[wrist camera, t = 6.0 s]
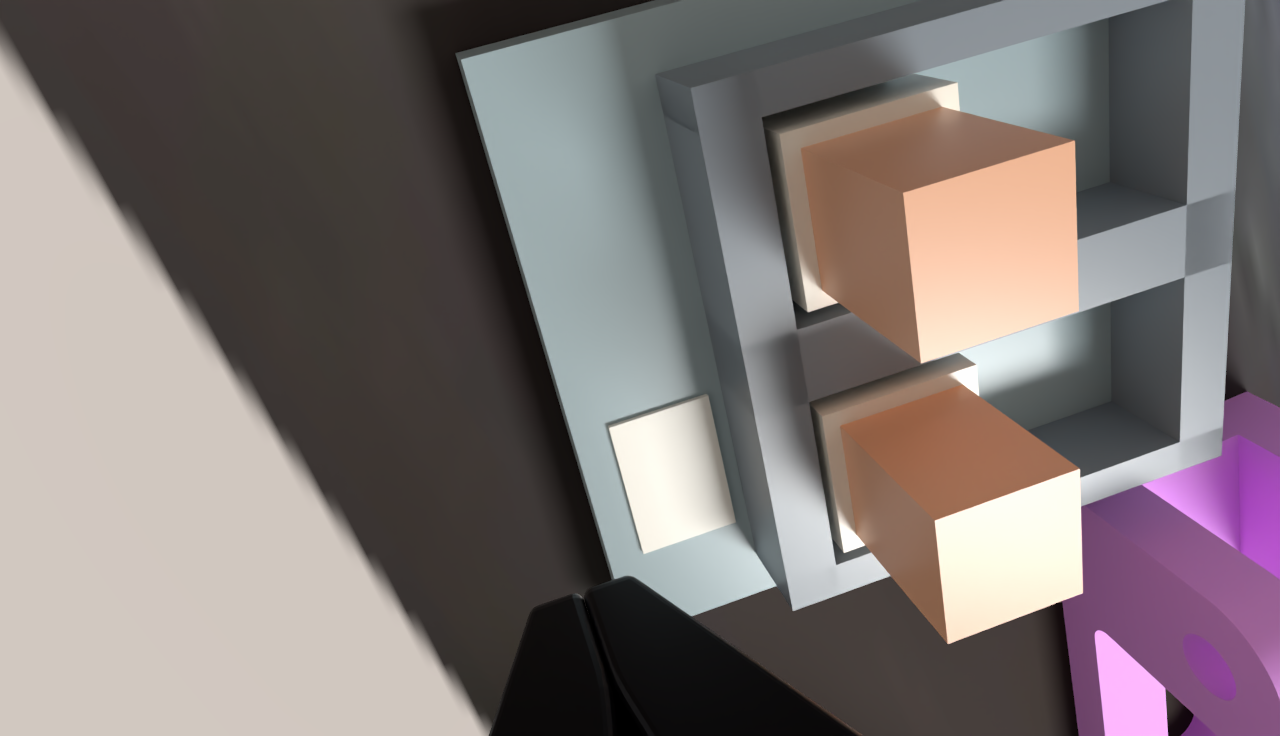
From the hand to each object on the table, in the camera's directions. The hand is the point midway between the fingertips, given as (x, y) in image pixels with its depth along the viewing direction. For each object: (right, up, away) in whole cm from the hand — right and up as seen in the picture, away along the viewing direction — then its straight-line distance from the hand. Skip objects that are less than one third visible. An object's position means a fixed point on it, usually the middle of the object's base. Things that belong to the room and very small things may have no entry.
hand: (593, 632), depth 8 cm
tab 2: (+5, +1, +11) cm, 12 cm away
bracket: (+14, -5, +19) cm, 24 cm away
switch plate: (+5, +4, +12) cm, 14 cm away
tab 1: (+4, +5, +9) cm, 11 cm away
